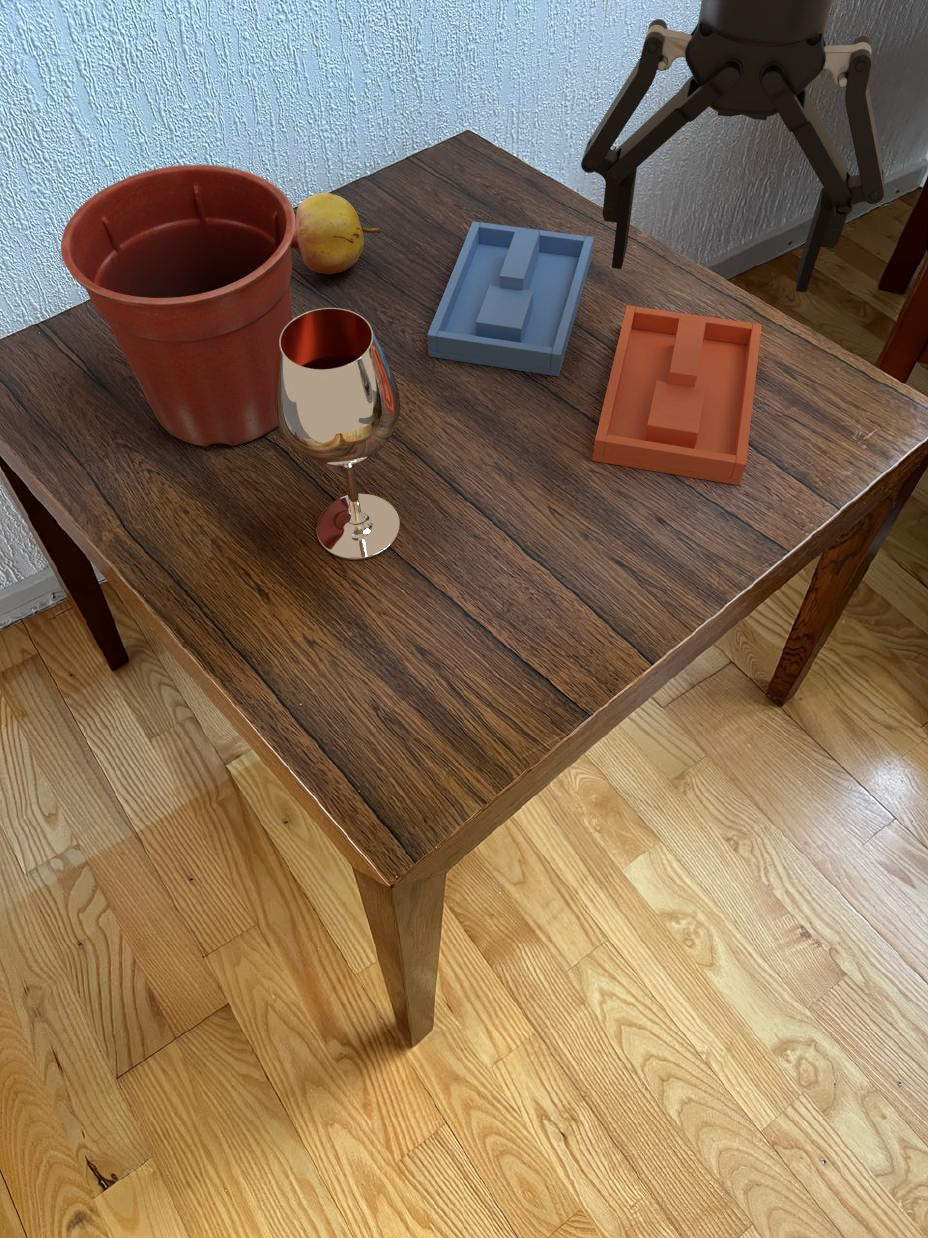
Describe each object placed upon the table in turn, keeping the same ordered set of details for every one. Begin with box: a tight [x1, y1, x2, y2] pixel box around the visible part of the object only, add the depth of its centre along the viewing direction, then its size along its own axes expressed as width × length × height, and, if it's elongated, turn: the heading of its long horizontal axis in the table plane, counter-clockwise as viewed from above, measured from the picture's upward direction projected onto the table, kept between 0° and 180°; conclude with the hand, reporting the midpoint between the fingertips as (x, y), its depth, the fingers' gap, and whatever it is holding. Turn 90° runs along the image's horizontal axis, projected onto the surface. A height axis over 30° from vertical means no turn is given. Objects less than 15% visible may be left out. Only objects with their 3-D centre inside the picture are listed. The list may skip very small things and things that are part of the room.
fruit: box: [291, 192, 381, 275], centre depth 88 cm, size 7×7×10 cm
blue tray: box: [426, 221, 595, 377], centre depth 86 cm, size 12×17×2 cm
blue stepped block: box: [476, 227, 540, 343], centre depth 86 cm, size 12×4×3 cm, turn 166°
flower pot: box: [60, 163, 296, 447], centre depth 75 cm, size 16×16×16 cm
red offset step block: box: [644, 315, 706, 449], centre depth 78 cm, size 12×4×3 cm, turn 166°
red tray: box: [592, 304, 763, 486], centre depth 79 cm, size 12×17×2 cm
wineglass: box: [274, 307, 401, 561], centre depth 66 cm, size 8×8×18 cm
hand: (709, 269), depth 72 cm, fingers open, 13 cm apart
